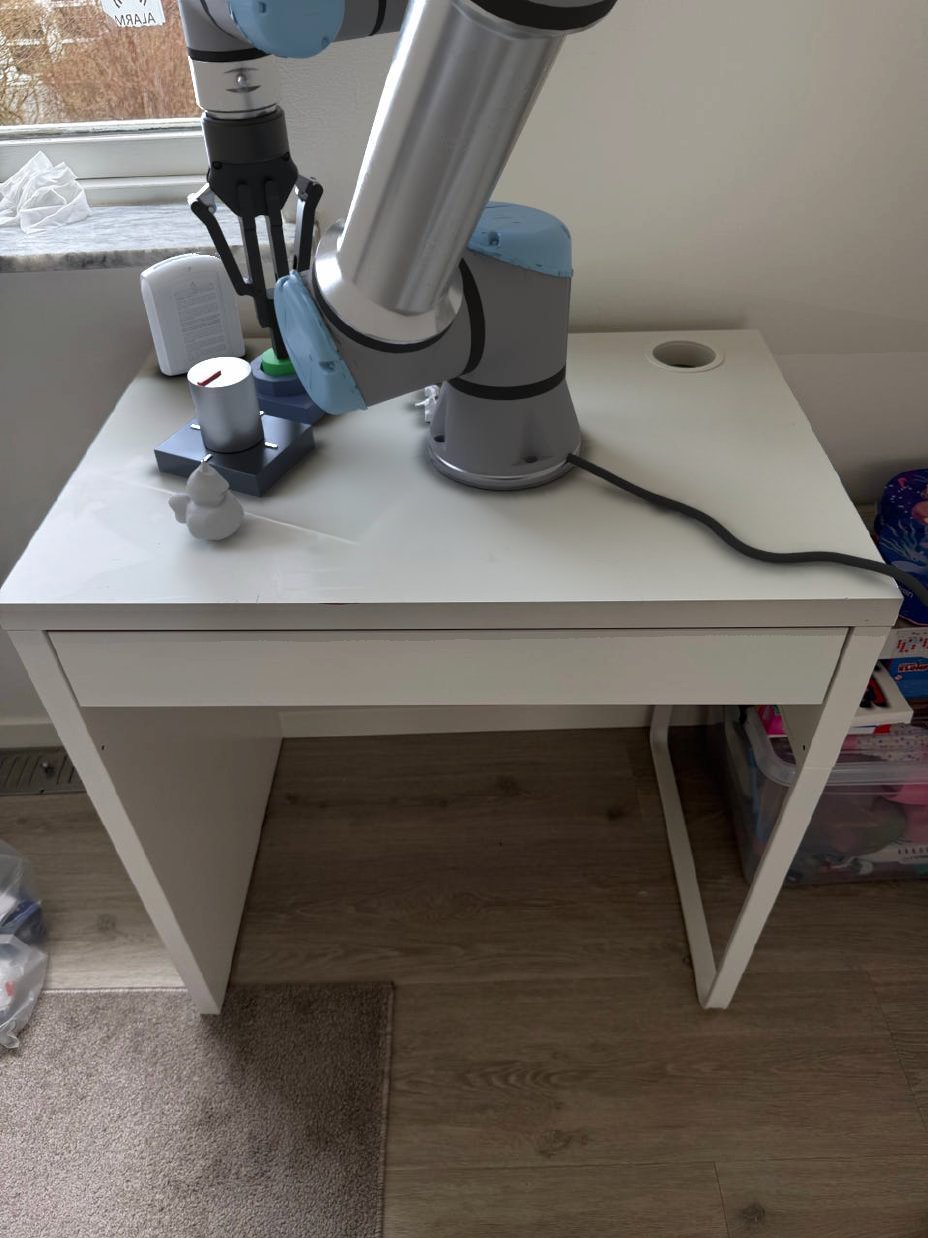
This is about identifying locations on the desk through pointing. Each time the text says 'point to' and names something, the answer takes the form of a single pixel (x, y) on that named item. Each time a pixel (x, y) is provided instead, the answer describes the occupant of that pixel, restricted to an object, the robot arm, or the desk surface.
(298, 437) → the dial panel
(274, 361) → the button
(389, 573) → the desk surface
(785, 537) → the desk surface
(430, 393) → the figurines set
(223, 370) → the dial
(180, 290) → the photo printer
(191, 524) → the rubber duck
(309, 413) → the block
